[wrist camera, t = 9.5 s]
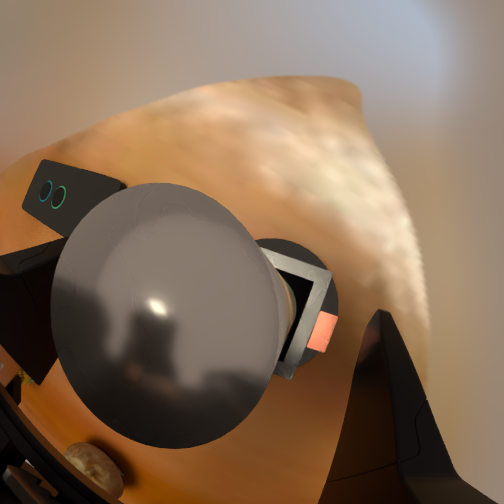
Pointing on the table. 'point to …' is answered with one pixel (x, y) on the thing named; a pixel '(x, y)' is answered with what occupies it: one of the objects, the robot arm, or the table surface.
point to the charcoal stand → (303, 302)
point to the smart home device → (66, 195)
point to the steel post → (168, 316)
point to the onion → (96, 467)
